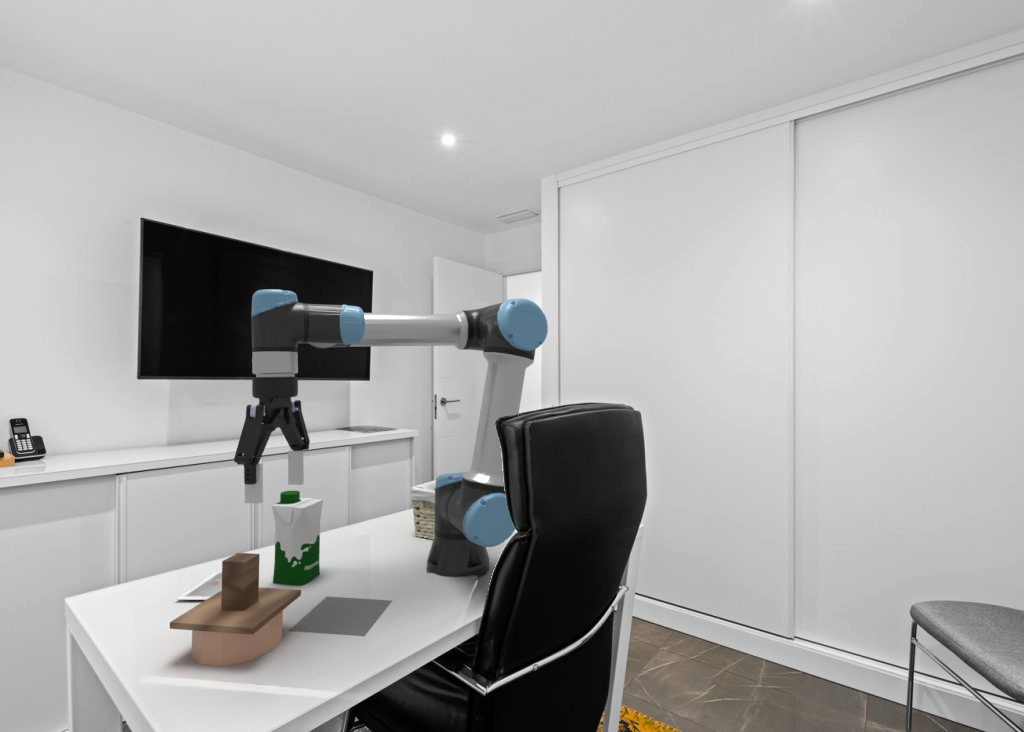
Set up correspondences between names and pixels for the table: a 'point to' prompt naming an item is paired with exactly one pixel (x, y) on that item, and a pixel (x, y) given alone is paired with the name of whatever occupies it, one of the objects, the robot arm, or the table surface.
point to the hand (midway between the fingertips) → (276, 493)
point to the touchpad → (204, 588)
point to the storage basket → (424, 509)
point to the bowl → (235, 644)
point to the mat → (342, 616)
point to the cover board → (236, 618)
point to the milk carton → (296, 539)
